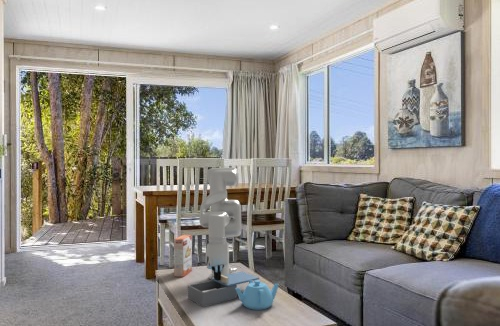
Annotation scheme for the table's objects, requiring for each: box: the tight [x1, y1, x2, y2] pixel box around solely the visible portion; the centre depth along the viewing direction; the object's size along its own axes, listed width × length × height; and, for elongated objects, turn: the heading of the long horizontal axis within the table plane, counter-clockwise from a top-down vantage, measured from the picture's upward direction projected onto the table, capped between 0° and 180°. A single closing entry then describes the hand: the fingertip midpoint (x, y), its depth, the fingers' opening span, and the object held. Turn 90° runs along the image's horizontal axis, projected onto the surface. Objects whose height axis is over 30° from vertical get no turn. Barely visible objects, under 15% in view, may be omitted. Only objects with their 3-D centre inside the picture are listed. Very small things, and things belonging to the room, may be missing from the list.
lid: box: [212, 270, 260, 287], centre depth 200 cm, size 18×14×3 cm
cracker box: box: [173, 234, 193, 278], centre depth 235 cm, size 14×6×21 cm, turn 168°
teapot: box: [235, 279, 280, 311], centre depth 183 cm, size 15×15×11 cm
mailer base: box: [187, 279, 238, 308], centre depth 193 cm, size 18×14×6 cm
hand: (217, 279), depth 194 cm, fingers closed
